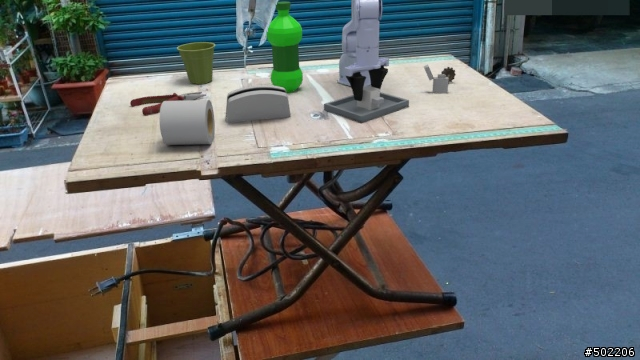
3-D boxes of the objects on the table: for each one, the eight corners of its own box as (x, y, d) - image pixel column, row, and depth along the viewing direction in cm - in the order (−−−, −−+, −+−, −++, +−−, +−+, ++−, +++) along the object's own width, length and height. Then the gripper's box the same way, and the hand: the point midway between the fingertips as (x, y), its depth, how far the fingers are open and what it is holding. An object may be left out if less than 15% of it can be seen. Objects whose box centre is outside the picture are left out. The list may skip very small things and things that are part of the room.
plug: (350, 104, 145) (350, 86, 143) (359, 101, 147) (359, 83, 145) (375, 112, 139) (376, 93, 136) (385, 109, 141) (385, 90, 138)
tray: (324, 110, 143) (323, 103, 142) (370, 95, 153) (371, 89, 153) (361, 123, 133) (361, 116, 132) (408, 106, 144) (409, 100, 143)
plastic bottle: (304, 83, 165) (300, -1, 154) (304, 94, 156) (300, 4, 145) (271, 85, 165) (266, 0, 154) (269, 95, 156) (263, 6, 145)
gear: (453, 82, 164) (455, 65, 161) (455, 82, 163) (456, 66, 161) (439, 83, 162) (440, 67, 160) (440, 84, 161) (442, 68, 159)
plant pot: (205, 74, 178) (201, 40, 173) (226, 80, 171) (223, 45, 166) (174, 82, 171) (169, 46, 166) (195, 89, 163) (190, 52, 158)
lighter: (446, 91, 155) (449, 64, 152) (447, 93, 154) (449, 65, 150) (421, 91, 156) (423, 64, 152) (422, 93, 154) (424, 65, 151)
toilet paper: (164, 151, 120) (156, 109, 116) (174, 135, 129) (168, 95, 125) (208, 150, 120) (203, 108, 116) (216, 134, 129) (211, 94, 125)
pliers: (213, 102, 153) (212, 93, 152) (144, 118, 142) (143, 108, 141) (196, 93, 161) (194, 85, 160) (130, 108, 150) (128, 98, 149)
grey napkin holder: (288, 110, 144) (288, 79, 136) (291, 121, 140) (291, 90, 133) (225, 116, 140) (222, 84, 133) (226, 128, 137) (224, 96, 130)
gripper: (358, 53, 129) (358, 107, 135) (398, 43, 137) (396, 94, 143) (338, 48, 134) (338, 101, 140) (378, 39, 142) (377, 89, 148)
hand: (366, 97), depth 142 cm, fingers open, 6 cm apart
